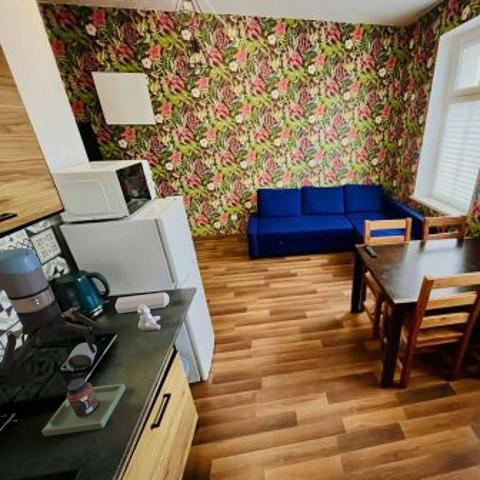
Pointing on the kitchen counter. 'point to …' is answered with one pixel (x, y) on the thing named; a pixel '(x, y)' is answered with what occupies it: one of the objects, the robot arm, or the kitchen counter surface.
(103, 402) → the bottle tray
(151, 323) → the sitting furry creature
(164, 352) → the kitchen counter surface
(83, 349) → the ceramic mug
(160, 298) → the white rounded cylinder
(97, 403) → the supplement bottle
